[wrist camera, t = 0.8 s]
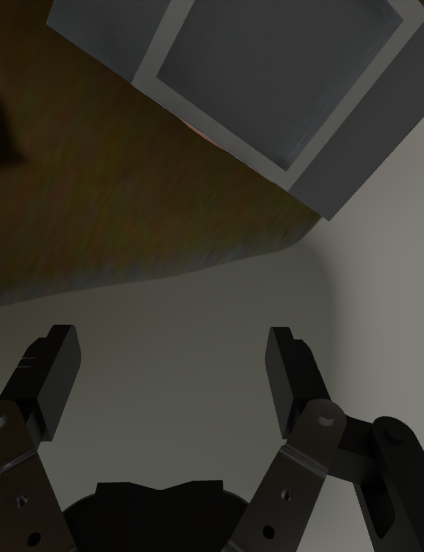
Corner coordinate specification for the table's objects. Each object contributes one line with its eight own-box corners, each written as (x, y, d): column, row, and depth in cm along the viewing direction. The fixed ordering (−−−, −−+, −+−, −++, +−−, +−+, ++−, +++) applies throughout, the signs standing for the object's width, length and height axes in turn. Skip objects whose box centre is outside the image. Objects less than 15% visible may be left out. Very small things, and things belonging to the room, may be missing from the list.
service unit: (87, 34, 25) (19, 27, 14) (162, -154, 20) (147, -382, 9) (281, 173, 32) (335, 240, 21) (370, 58, 27) (498, 68, 17)
